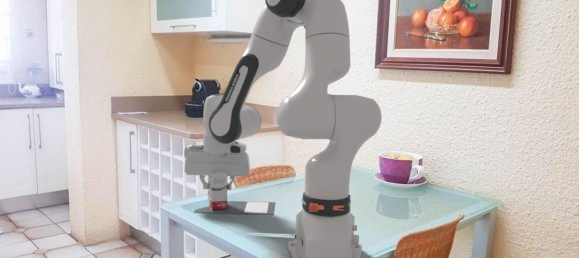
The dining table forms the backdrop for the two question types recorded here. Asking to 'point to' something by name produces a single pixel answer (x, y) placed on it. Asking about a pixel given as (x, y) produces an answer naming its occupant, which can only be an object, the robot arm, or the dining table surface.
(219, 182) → the ink box
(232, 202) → the mat
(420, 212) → the dining table surface
